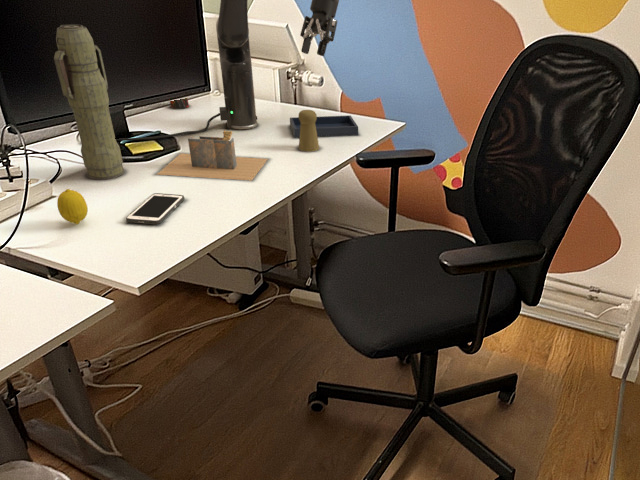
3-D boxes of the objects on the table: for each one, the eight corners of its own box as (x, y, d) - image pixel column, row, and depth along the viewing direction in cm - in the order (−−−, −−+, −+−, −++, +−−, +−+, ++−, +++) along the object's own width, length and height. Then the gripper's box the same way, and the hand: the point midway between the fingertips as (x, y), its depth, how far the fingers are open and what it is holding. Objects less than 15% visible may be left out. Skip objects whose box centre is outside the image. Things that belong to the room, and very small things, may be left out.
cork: (296, 146, 178) (294, 108, 172) (315, 144, 180) (314, 107, 174) (302, 152, 174) (300, 114, 168) (322, 150, 176) (320, 112, 170)
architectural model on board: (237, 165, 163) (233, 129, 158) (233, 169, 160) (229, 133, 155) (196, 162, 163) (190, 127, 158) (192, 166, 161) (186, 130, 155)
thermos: (74, 178, 151) (34, 27, 132) (107, 163, 160) (74, 21, 141) (104, 184, 148) (67, 31, 130) (135, 168, 158) (105, 24, 139)
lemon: (95, 218, 132) (86, 184, 128) (85, 229, 127) (75, 194, 123) (69, 218, 132) (60, 183, 127) (58, 229, 127) (48, 194, 123)
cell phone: (124, 222, 131) (124, 218, 130) (154, 196, 143) (153, 192, 142) (159, 225, 130) (158, 221, 130) (185, 198, 143) (185, 195, 142)
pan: (294, 138, 184) (294, 129, 183) (290, 125, 195) (289, 117, 193) (358, 135, 189) (358, 126, 188) (350, 123, 199) (350, 115, 198)
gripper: (302, -8, 177) (289, 48, 180) (330, -8, 167) (315, 51, 171) (322, 2, 182) (309, 56, 186) (350, 3, 172) (335, 60, 176)
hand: (312, 54), depth 178 cm, fingers open, 8 cm apart
